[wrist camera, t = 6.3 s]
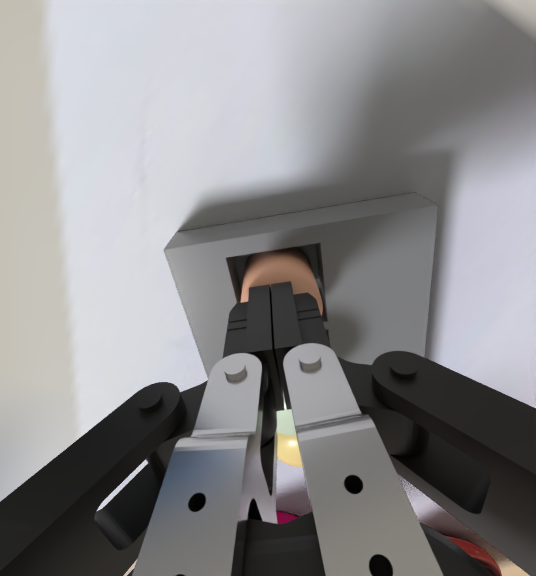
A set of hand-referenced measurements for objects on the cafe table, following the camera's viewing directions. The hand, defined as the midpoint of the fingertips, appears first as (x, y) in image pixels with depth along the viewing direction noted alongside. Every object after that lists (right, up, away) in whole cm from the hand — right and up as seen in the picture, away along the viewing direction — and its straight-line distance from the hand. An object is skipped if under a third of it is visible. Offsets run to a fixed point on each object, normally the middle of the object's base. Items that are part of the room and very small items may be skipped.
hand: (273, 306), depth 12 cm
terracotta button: (0, +1, +3) cm, 3 cm away
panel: (+2, -2, +5) cm, 6 cm away
